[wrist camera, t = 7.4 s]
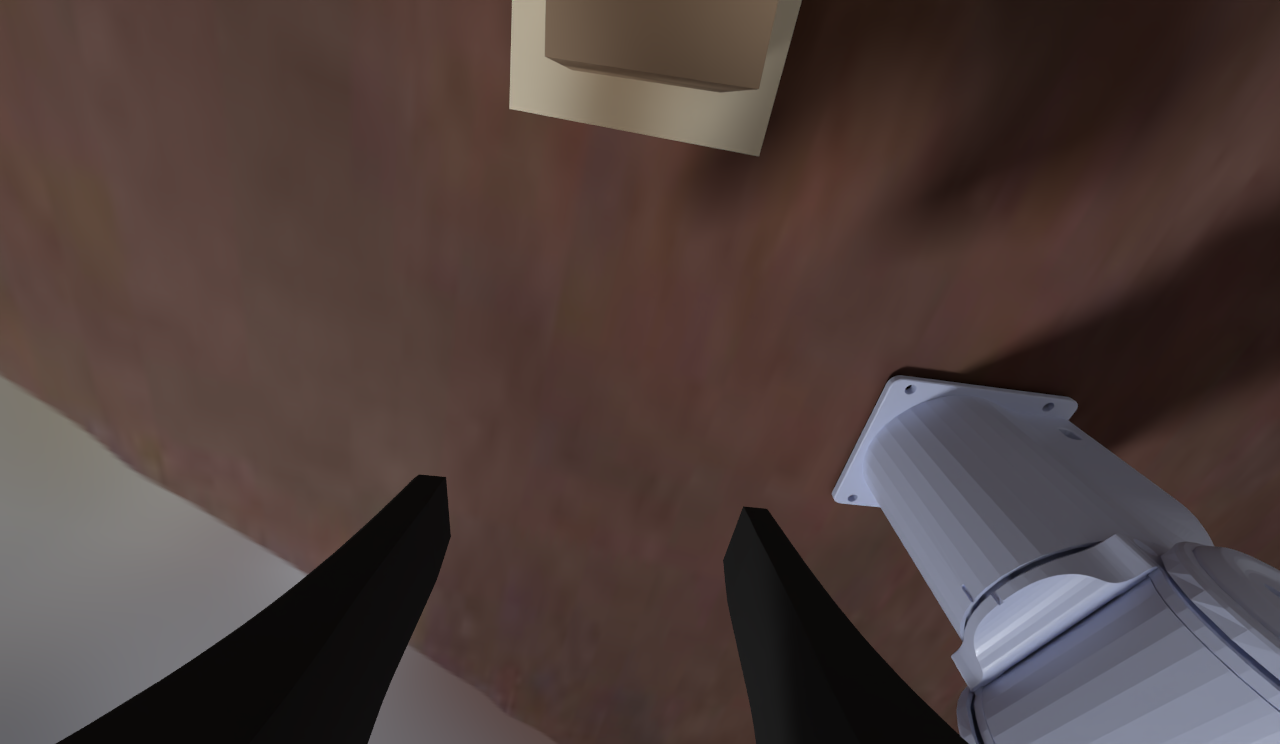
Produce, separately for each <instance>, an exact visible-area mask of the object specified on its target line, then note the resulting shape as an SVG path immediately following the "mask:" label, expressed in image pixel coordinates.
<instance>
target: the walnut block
mask: <svg viewBox="0 0 1280 744" xmlns="http://www.w3.org/2000/svg"><path fill="white" fill-rule="evenodd" d="M778 1H779V0H546V13H545V57H547V58H549V59H551V60H553V61H555V62H557V63H559V64H561V65H563V66H565V67H567V68H569V69H571V70H574V71H581V72H588V73H594V74H601V75H607V76H614V77H621V78H627V79H634V80H640V81H647V82H654V83H660V84H667V85H673V86H680V87H687V88H693V89H700V90H706V91H713V92H720V93H721V92H733V91H745V90H757V89H759V87H760V82H761V78H762V73H763V69H764V64H765V60H766V55H767V51H768V46H769V42H770V37H771V32H772V28H773V23H774V19H775V14H776V10H777V5H778Z"/></svg>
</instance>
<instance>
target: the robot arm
mask: <svg viewBox="0 0 1280 744" xmlns="http://www.w3.org/2000/svg"><path fill="white" fill-rule="evenodd" d="M909 385H912V386H911V387H910V388H909V389H907V390H905V389H906V387H907V386H909ZM1077 408H1078V403H1077V402H1076V401H1075V400H1073V399H1072V398H1070V397H1065V396H1057V395H1049V394H1042V393H1034V392H1026V391H1019V390H1011V389H1003V388H996V387H988V386H980V385H972V384H965V383H957V382H949V381H942V380H934V379H926V378H918V377H911V376H903V375H897V376H894V377H892V378H891V379H889V381H888V382H887V383H886V385H885V387H884V389H883V391H882V393H881V395H880V397H879V399H878V401H877V403H876V405H875V407H874V409H873V411H872V413H871V415H870V417H869V419H868V421H867V423H866V425H865V427H864V429H863V431H862V433H861V435H860V437H859V439H858V441H857V443H856V445H855V447H854V449H853V451H852V453H851V455H850V458H849V460H848V462H847V464H846V466H845V468H844V470H843V472H842V474H841V476H840V478H839V480H838V482H837V484H836V486H835V488H834V490H833V492H832V496H833V498H834V500H835V501H836V502H838V503H843V504H853V505H863V506H873V507H881V509H882V510H883V512H884V514H885V515H886V517H887V519H888V520H889V522H890V524H891V525H892V527H893V528H894V530H895V532H896V533H897V535H898V537H899V538H900V540H901V542H902V543H903V545H904V546H905V548H906V550H907V551H908V553H909V555H910V556H911V558H912V560H913V561H914V563H915V565H916V566H917V568H918V569H919V571H920V573H921V574H922V576H923V578H924V579H925V581H926V583H927V584H928V586H929V587H930V589H931V591H932V592H933V594H934V596H935V597H936V599H937V601H938V602H939V604H940V605H941V607H942V609H943V610H944V612H945V614H946V615H947V617H948V619H949V620H950V622H951V624H952V625H953V627H954V628H955V630H956V632H957V633H958V635H959V637H960V638H961V640H962V642H963V643H962V645H961V646H960V648H959V649H958V650H957V651H956V652H955V653H953V654H952V656H951V657H952V659H953V661H954V663H955V664H956V666H957V668H958V670H959V671H960V673H961V675H962V677H963V678H964V680H965V682H966V684H967V685H968V686H967V687H966V688H965V689H964V690H963V691H962V693H961V695H960V697H959V700H958V704H957V721H958V727H959V732H960V735H959V734H958V733H957V732H956V731H954V730H953V729H952V728H951V727H950V726H949V725H948V724H947V723H946V722H945V721H944V720H943V719H942V718H941V717H940V716H939V715H938V714H937V713H936V712H935V711H934V710H933V709H932V708H930V707H929V706H928V705H927V704H926V703H925V702H924V701H923V700H922V699H921V698H920V697H919V696H918V695H917V694H916V693H915V692H914V691H913V690H912V689H911V688H910V687H909V686H908V685H907V684H906V683H905V682H904V681H903V680H902V679H901V678H900V677H899V675H898V674H897V673H896V672H895V671H894V670H893V669H892V668H891V667H890V666H889V665H888V664H887V663H886V661H885V660H884V659H883V658H882V657H881V656H880V655H879V654H878V653H877V652H876V651H875V650H874V648H873V647H872V646H871V645H870V644H869V643H868V642H867V641H866V639H865V638H864V637H863V636H862V635H861V634H860V632H859V631H858V630H857V629H856V628H855V626H854V625H853V624H852V623H851V622H850V620H849V619H848V618H847V617H846V616H845V614H844V613H843V612H842V611H841V609H840V608H839V607H838V606H837V604H836V603H835V602H834V601H833V599H832V598H831V597H830V595H829V594H828V593H827V591H826V590H825V589H824V587H823V586H822V585H821V584H820V582H819V581H818V580H817V578H816V577H815V576H814V574H813V573H812V572H811V570H810V569H809V567H808V566H807V565H806V563H805V562H804V561H803V559H802V558H801V556H800V555H799V554H798V552H797V551H796V549H795V548H794V547H793V545H792V544H791V542H790V541H789V539H788V538H787V537H786V535H785V534H784V532H783V531H782V529H781V528H780V527H779V525H778V524H777V522H776V521H775V519H774V518H773V517H772V515H771V514H770V512H769V511H768V510H767V509H762V508H752V507H743V509H742V512H741V514H740V517H739V520H738V522H737V525H736V528H735V530H734V533H733V536H732V538H731V541H730V544H729V546H728V549H727V552H726V554H725V557H724V560H723V562H724V573H725V584H726V593H727V601H728V606H729V611H730V616H731V621H732V625H733V630H734V634H735V639H736V644H737V648H738V652H739V657H740V661H741V666H742V670H743V675H744V679H745V684H746V688H747V693H748V697H749V702H750V707H751V713H752V718H753V724H754V731H755V738H756V744H1280V571H1279V570H1278V569H1276V568H1274V567H1272V566H1270V565H1268V564H1266V563H1264V562H1262V561H1260V560H1258V559H1256V558H1254V557H1252V556H1249V555H1247V554H1245V553H1242V552H1240V551H1237V550H1234V549H1230V548H1224V547H1215V546H1214V545H1213V543H1212V541H1211V539H1210V537H1209V535H1208V533H1207V532H1206V530H1205V529H1204V528H1203V526H1202V525H1201V523H1200V522H1199V521H1198V519H1197V518H1196V517H1195V516H1194V515H1193V514H1192V513H1191V512H1190V511H1189V510H1188V509H1187V508H1186V507H1185V506H1184V505H1182V504H1181V503H1180V502H1178V501H1177V500H1176V499H1174V498H1173V497H1172V496H1170V495H1169V494H1168V493H1166V492H1165V491H1164V490H1162V489H1161V488H1159V487H1158V486H1157V485H1155V484H1154V483H1153V482H1151V481H1150V480H1149V479H1147V478H1146V477H1145V476H1143V475H1142V474H1140V473H1139V472H1138V471H1136V470H1135V469H1134V468H1132V467H1131V466H1130V465H1128V464H1127V463H1126V462H1124V461H1123V460H1121V459H1120V458H1119V457H1117V456H1116V455H1115V454H1113V453H1112V452H1111V451H1109V450H1108V449H1107V448H1105V447H1104V446H1102V445H1101V444H1100V443H1098V442H1097V441H1096V440H1094V439H1093V438H1092V437H1090V436H1089V435H1087V434H1086V433H1085V432H1083V431H1082V430H1081V429H1079V428H1078V427H1077V426H1075V425H1074V424H1073V423H1071V422H1070V421H1068V420H1069V419H1070V418H1071V416H1072V415H1073V414H1074V412H1075V411H1076V410H1077ZM850 495H851V496H850ZM450 537H451V534H450V522H449V509H448V497H447V484H446V477H439V476H429V475H418V476H416V477H415V478H414V479H413V480H412V481H411V482H410V483H409V484H408V485H407V486H406V487H405V488H404V489H403V490H402V491H401V492H400V493H399V494H398V495H397V496H396V497H394V498H393V499H392V500H391V501H390V502H389V503H388V504H387V505H386V506H385V507H384V508H383V509H382V510H381V511H380V512H379V513H378V514H377V515H376V516H375V517H373V518H372V519H371V520H370V521H369V522H368V523H367V524H366V525H365V526H364V527H363V528H361V529H360V530H359V531H358V532H357V533H356V534H355V535H354V536H353V537H351V538H350V539H349V540H348V541H347V542H346V543H345V544H344V545H343V546H342V547H340V548H339V549H338V550H337V551H336V552H335V553H333V554H332V555H331V556H330V557H329V558H327V559H326V560H325V561H324V562H323V563H321V564H320V565H319V566H318V567H317V568H315V569H314V570H313V571H312V572H311V573H309V574H308V575H307V576H306V577H305V578H303V579H302V580H301V581H300V582H299V583H298V584H296V585H295V586H294V587H292V588H291V589H290V590H288V591H287V592H286V593H285V594H283V595H282V596H281V597H280V598H278V599H277V600H276V601H275V602H273V603H272V604H270V605H269V606H268V607H267V608H265V609H264V610H262V611H261V612H260V613H258V614H257V615H256V616H254V617H253V618H252V619H250V620H249V621H247V622H246V623H245V624H243V625H242V626H241V627H239V628H238V629H236V630H235V631H234V632H232V633H231V634H229V635H228V636H226V637H225V638H223V639H222V640H220V641H219V642H217V643H216V644H215V645H213V646H212V647H210V648H209V649H207V650H206V651H204V652H203V653H201V654H200V655H199V656H197V657H196V658H194V659H193V660H191V661H190V662H188V663H187V664H185V665H184V666H182V667H181V668H179V669H177V670H176V671H174V672H173V673H171V674H170V675H168V676H167V677H165V678H164V679H162V680H161V681H159V682H157V683H155V684H154V685H152V686H151V687H149V688H147V689H146V690H144V691H142V692H141V693H139V694H138V695H136V696H134V697H133V698H131V699H130V700H128V701H126V702H125V703H123V704H122V705H120V706H118V707H117V708H115V709H113V710H112V711H110V712H108V713H107V714H105V715H103V716H102V717H100V718H99V719H97V720H95V721H94V722H92V723H90V724H89V725H87V726H85V727H84V728H82V729H80V730H79V731H77V732H75V733H73V734H72V735H70V736H68V737H67V738H65V739H63V740H61V741H60V742H58V743H56V744H368V741H369V738H370V735H371V732H372V730H373V727H374V724H375V721H376V718H377V716H378V713H379V710H380V707H381V704H382V702H383V699H384V697H385V694H386V692H387V690H388V687H389V685H390V682H391V680H392V678H393V676H394V673H395V671H396V669H397V667H398V664H399V662H400V660H401V658H402V656H403V653H404V651H405V649H406V647H407V645H408V642H409V640H410V638H411V636H412V634H413V631H414V629H415V627H416V625H417V623H418V620H419V618H420V616H421V614H422V612H423V609H424V607H425V605H426V603H427V600H428V598H429V596H430V594H431V591H432V589H433V587H434V585H435V582H436V580H437V577H438V574H439V571H440V568H441V565H442V562H443V559H444V556H445V553H446V550H447V546H448V543H449V540H450Z"/></svg>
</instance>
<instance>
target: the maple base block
mask: <svg viewBox="0 0 1280 744" xmlns="http://www.w3.org/2000/svg"><path fill="white" fill-rule="evenodd" d="M801 2H802V0H779V1H778V5H777V10H776V14H775V19H774V23H773V28H772V32H771V37H770V42H769V46H768V51H767V55H766V60H765V64H764V69H763V73H762V78H761V82H760V87H759V89H757V90H745V91H733V92H721V93H720V92H713V91H706V90H700V89H693V88H687V87H680V86H673V85H667V84H660V83H654V82H647V81H640V80H634V79H627V78H621V77H614V76H607V75H601V74H594V73H588V72H581V71H574V70H571V69H569V68H567V67H565V66H563V65H561V64H559V63H557V62H555V61H553V60H551V59H549V58H547V57H545V13H546V0H512V28H511V68H510V108H509V109H514V110H519V111H524V112H530V113H535V114H540V115H545V116H550V117H556V118H561V119H566V120H571V121H576V122H582V123H587V124H592V125H597V126H603V127H608V128H613V129H618V130H623V131H629V132H634V133H639V134H644V135H650V136H655V137H660V138H665V139H670V140H676V141H681V142H686V143H691V144H696V145H702V146H707V147H712V148H717V149H723V150H728V151H733V152H738V153H743V154H749V155H754V156H759V155H760V151H761V147H762V144H763V140H764V137H765V133H766V129H767V126H768V122H769V118H770V115H771V111H772V107H773V104H774V100H775V97H776V93H777V89H778V86H779V82H780V78H781V75H782V71H783V67H784V64H785V60H786V57H787V53H788V49H789V46H790V42H791V38H792V35H793V31H794V27H795V24H796V20H797V17H798V13H799V9H800V6H801Z"/></svg>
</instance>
